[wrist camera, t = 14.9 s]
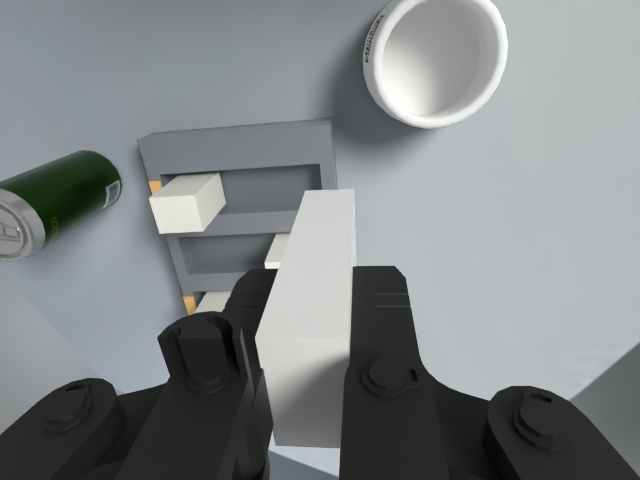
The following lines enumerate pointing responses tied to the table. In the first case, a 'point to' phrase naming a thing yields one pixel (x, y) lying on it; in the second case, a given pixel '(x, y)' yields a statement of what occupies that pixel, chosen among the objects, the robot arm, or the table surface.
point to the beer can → (54, 201)
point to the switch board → (240, 193)
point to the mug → (434, 59)
